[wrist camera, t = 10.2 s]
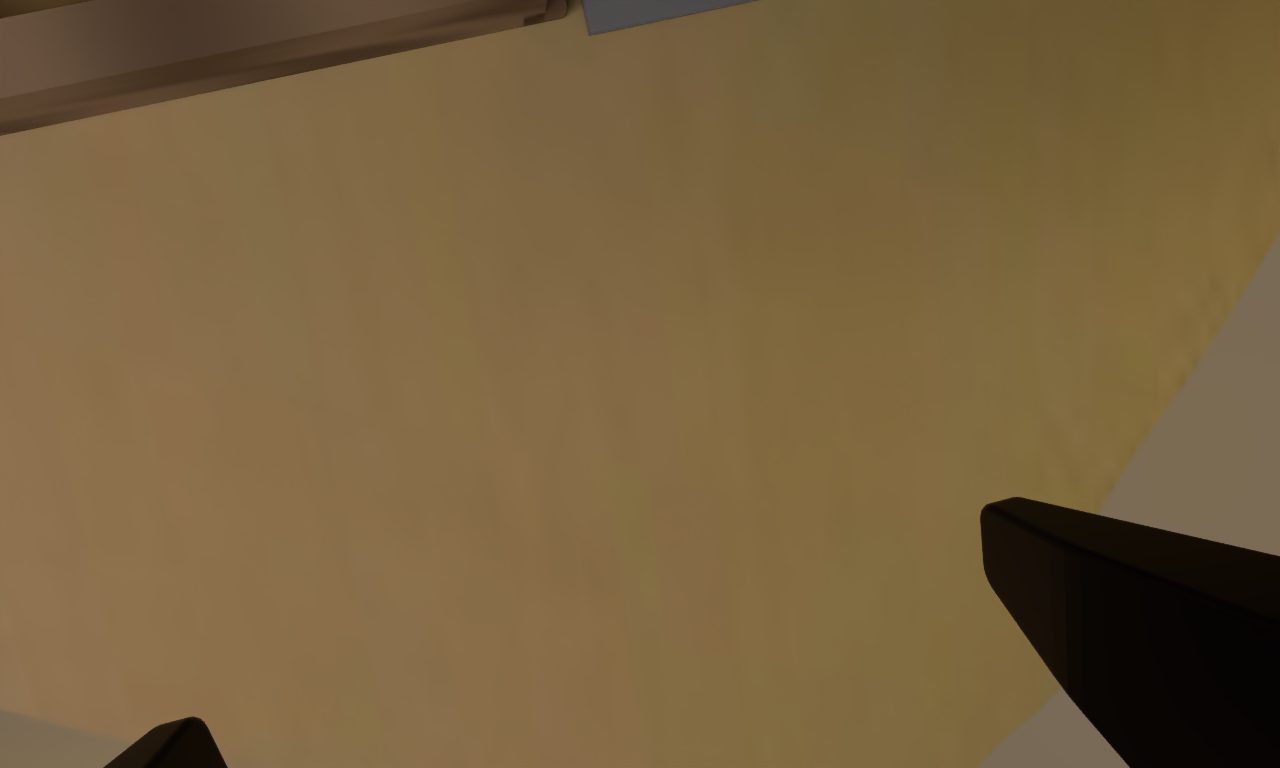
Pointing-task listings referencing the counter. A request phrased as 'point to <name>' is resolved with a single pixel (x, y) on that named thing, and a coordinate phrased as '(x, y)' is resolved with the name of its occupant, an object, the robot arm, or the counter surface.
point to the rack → (214, 46)
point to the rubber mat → (643, 11)
